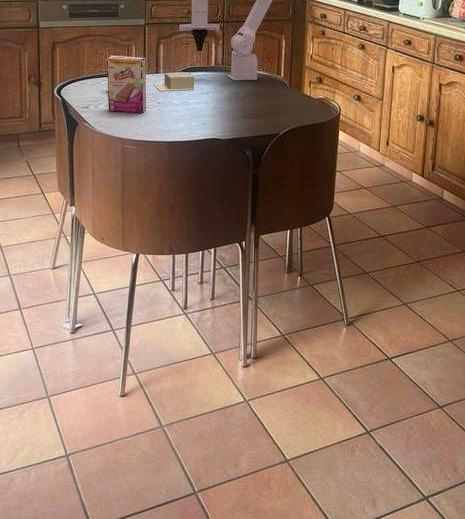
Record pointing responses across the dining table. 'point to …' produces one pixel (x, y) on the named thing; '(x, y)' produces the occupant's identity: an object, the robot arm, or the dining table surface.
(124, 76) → the candy bar box
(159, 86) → the mat
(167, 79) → the sage block
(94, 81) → the dining table surface
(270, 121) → the dining table surface
